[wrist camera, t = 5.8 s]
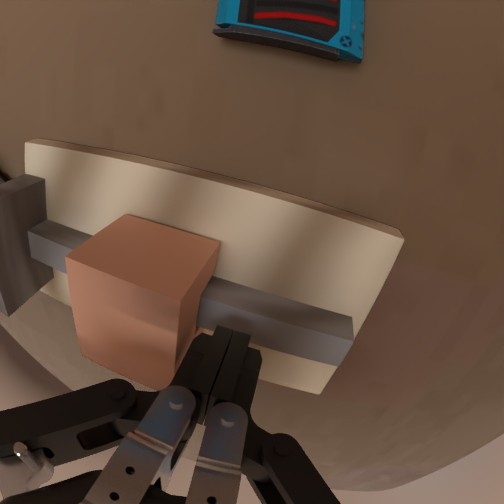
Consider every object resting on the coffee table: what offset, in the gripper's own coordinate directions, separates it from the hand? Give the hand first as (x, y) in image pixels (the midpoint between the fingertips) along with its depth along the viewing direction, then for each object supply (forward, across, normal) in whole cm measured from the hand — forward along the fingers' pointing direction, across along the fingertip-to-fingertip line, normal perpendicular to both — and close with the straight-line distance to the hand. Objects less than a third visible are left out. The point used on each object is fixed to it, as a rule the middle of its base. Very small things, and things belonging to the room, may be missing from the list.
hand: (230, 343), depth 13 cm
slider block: (+3, +4, 0) cm, 5 cm away
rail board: (+4, +5, 0) cm, 6 cm away
